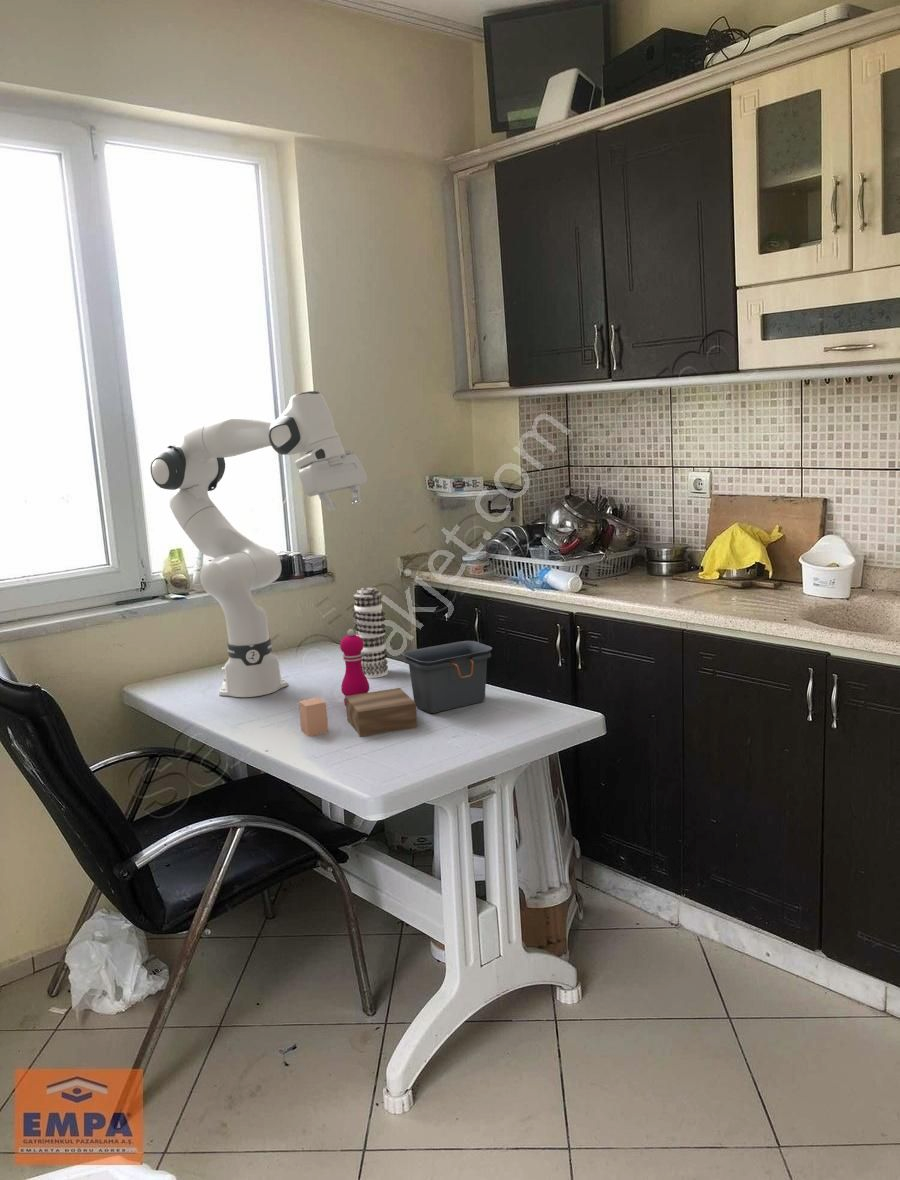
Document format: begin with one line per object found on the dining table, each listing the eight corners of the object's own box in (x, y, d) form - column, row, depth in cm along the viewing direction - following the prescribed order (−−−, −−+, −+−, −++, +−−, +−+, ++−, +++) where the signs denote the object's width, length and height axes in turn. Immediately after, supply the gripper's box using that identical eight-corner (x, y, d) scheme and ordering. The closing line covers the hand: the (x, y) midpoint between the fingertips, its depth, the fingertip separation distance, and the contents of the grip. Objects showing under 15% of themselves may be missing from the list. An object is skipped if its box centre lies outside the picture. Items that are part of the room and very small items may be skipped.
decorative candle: (351, 674, 276) (344, 589, 271) (378, 667, 281) (372, 584, 276) (368, 680, 268) (361, 593, 264) (395, 673, 274) (389, 588, 269)
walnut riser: (347, 719, 235) (345, 696, 234) (401, 710, 239) (399, 687, 238) (360, 736, 222) (358, 712, 221) (417, 727, 226) (415, 703, 225)
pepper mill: (366, 708, 243) (360, 632, 239) (339, 708, 244) (332, 632, 240) (373, 700, 250) (368, 625, 246) (347, 699, 251) (341, 626, 247)
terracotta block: (301, 731, 229) (298, 701, 227) (320, 726, 231) (318, 697, 230) (308, 736, 224) (305, 706, 223) (328, 732, 227) (325, 702, 225)
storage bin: (471, 690, 253) (468, 638, 251) (504, 703, 240) (502, 648, 238) (401, 706, 243) (397, 652, 240) (432, 722, 230) (428, 664, 227)
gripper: (344, 453, 245) (362, 504, 245) (289, 463, 229) (309, 517, 229) (362, 445, 241) (380, 497, 242) (307, 454, 225) (327, 510, 225)
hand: (345, 507), depth 235 cm, fingers open, 8 cm apart
